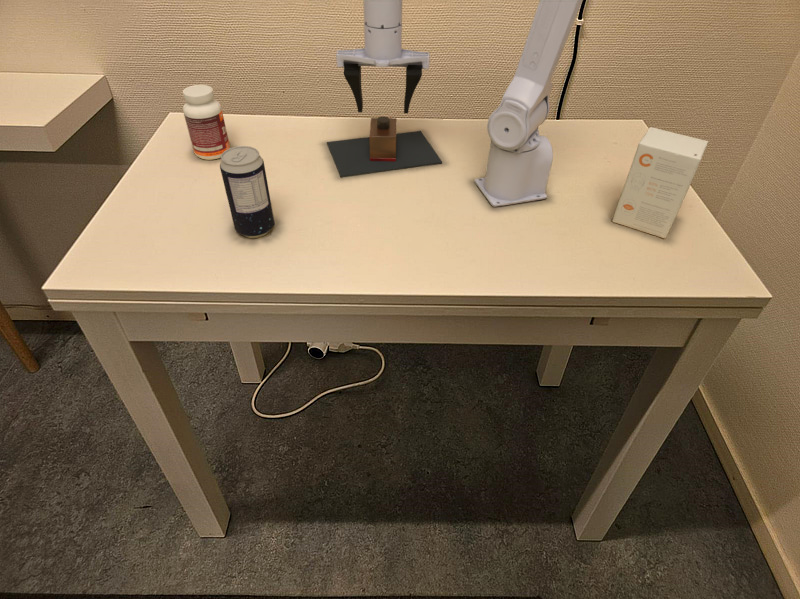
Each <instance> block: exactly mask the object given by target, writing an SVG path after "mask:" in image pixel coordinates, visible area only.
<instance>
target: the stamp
mask: <svg viewBox="0 0 800 599" xmlns="http://www.w3.org/2000/svg"><path fill="white" fill-rule="evenodd" d="M396 134H397V118H395V117H393V118H392V117H388V116H382V115H381V116H378V117H371V118H370V126H369V136H368V137H369V143H370V161H396Z"/></svg>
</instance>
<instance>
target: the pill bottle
mask: <svg viewBox="0 0 800 599" xmlns="http://www.w3.org/2000/svg"><path fill="white" fill-rule="evenodd" d="M182 96H183V99H184V101H185V103H184V105H183V106H182V112H183V113H182V114H183V116H184V120H185V124H186V127H187V132H188V135H189V139H190V142H191V146H192V149H193V153H194V154H195V156H196V157H197V158H199V159H202V160H207V161H208V160H209V161H211V160H212V161H213V160H217V159H221V155H222V153H223V152H224V151H226V150H228V149H230V148H231V145H230V140H229V135H228V132H227V127H226V122H225V117H224V113H223V107H222V105H221V103H220V101H218V100H216V99H214V98H215V93H214V88H212V86H210V85H207V84H194V85H190V86H187V87H185V88H184V89H183V90H182Z"/></svg>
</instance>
